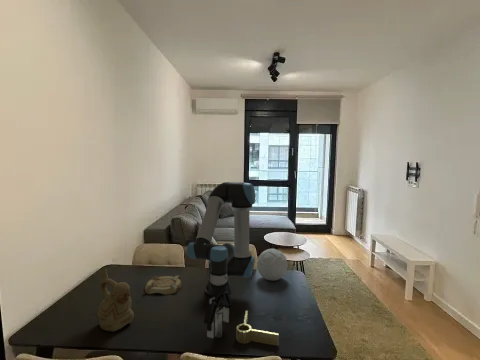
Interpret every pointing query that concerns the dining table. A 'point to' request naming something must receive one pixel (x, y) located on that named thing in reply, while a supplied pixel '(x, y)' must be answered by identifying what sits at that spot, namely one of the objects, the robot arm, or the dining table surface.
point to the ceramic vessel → (114, 304)
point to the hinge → (254, 334)
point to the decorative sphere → (272, 264)
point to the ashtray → (163, 285)
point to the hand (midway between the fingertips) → (218, 329)
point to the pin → (218, 322)
